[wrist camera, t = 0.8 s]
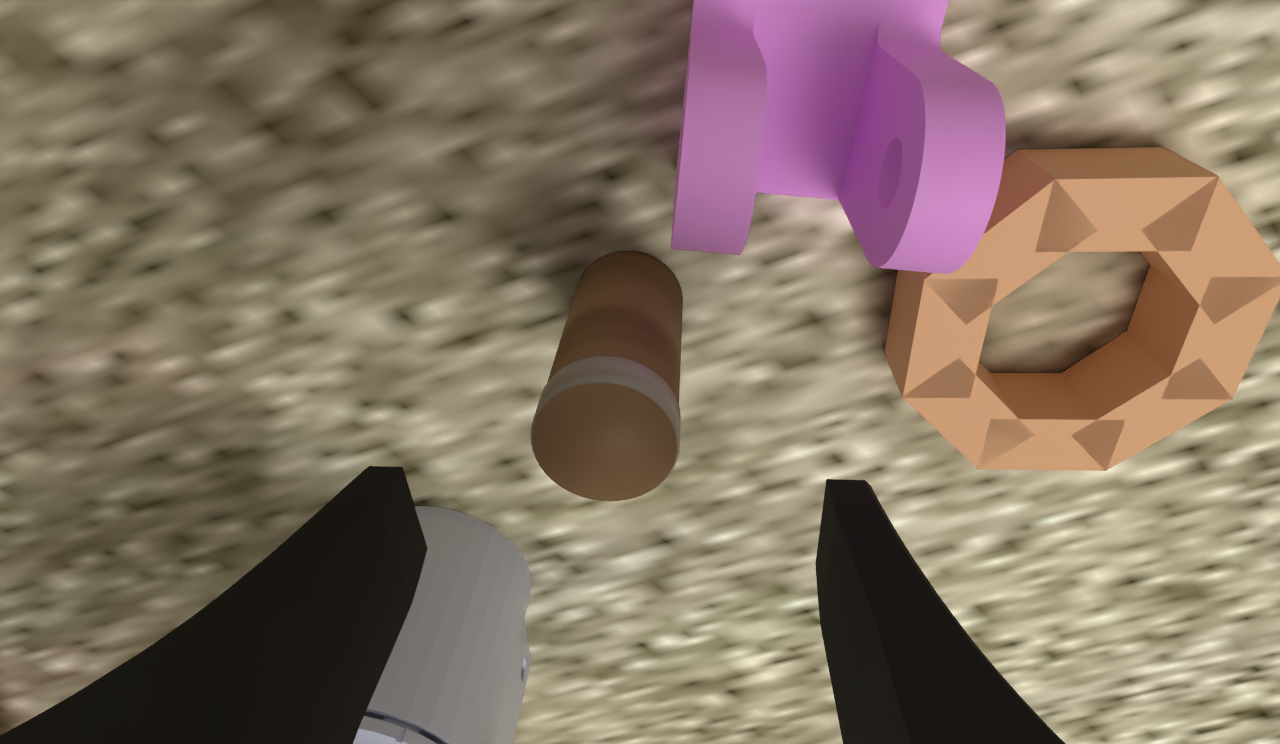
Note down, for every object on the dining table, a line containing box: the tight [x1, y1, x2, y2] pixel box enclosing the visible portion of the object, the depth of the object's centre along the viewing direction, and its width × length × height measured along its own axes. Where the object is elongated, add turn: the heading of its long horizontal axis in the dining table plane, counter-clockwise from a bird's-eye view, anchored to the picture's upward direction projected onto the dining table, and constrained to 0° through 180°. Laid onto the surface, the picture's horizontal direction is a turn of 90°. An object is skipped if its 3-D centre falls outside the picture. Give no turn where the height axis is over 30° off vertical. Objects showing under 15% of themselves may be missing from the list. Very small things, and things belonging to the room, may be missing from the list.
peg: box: [531, 251, 683, 501], centre depth 19 cm, size 3×3×7 cm
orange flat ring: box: [884, 146, 1280, 471], centre depth 20 cm, size 9×9×2 cm
